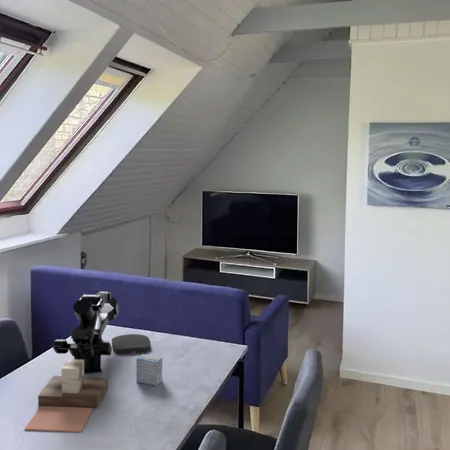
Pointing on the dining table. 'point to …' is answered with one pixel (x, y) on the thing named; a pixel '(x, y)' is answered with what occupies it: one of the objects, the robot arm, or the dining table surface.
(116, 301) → the robot arm
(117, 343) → the media streaming box
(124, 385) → the dining table surface
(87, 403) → the oak plinth
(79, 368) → the birch block
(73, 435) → the dining table surface
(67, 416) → the terracotta mat
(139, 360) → the medicine box
